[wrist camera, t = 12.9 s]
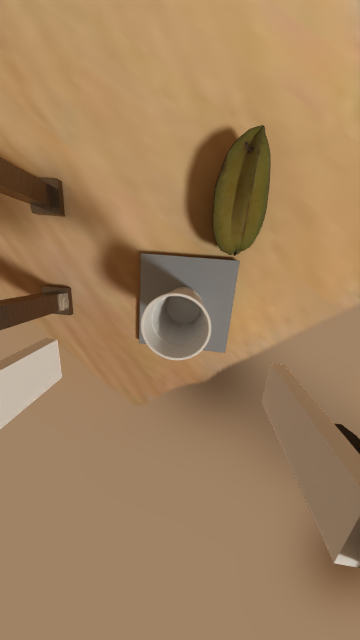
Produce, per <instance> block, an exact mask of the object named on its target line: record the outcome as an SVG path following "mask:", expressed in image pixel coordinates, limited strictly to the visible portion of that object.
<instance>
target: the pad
mask: <svg viewBox="0 0 360 640" xmlns="http://www.w3.org/2000/svg"><path fill="white" fill-rule="evenodd" d="M239 262H240V261H235V260H222V259H209V258H196V257H183V256H170V255H157V254H144V253H141V267H140V325H139V343H142V344H146V342H145V340H144V338H143V335H142V332H141V319H142V315H143V312H144V310H145V309H146V307H147V306H148V305H149V303H150V302H151V301H153V300H154V299H155V298H157V297H159V296H161V295H164V294H167V293H169V292H171V291H173V290H175V289H177V288H180V287H188V288H191V289H193V290H195V291H196V292H197V293H198V294H199V295H200V297H201V299H202V303H203V305H204V307H205V309H206V311H207V313H208V315H209V317H210V321H211V335H210V338H209V341H208V343H207V345H206V346H205V347H204V349H203V350H205V351H214V352H223V353H225V350H226V344H227V338H228V331H229V325H230V319H231V312H232V306H233V300H234V293H235V287H236V281H237V274H238V268H239Z"/></svg>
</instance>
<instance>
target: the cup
mask: <svg viewBox="0 0 360 640" xmlns="http://www.w3.org/2000/svg"><path fill="white" fill-rule="evenodd" d="M141 332H142V335H143V338H144V340H145V342H146V344H147V345H148V346H149V348H150V349H151V350H152V351H154V352H155V353H156V354H158V355H160V356H162V357H164V358H167V359H171V360H184V359H188V358H191V357H193V356H195V355H197V354H198V353H199V352H201V351H202V350H203V349H204V347H205V346H206V345H207V343H208V341H209V338H210V335H211V321H210V317H209V315H208V313H207V311H206V309H205V307H204V305H203V303H202V299H201V297H200V295H199V294H198V293H197V292H196V291H195V290H193V289H191V288H188V287H180V288H177V289H175V290H173V291H171V292H169V293H167V294H164V295H161V296H159V297H157V298H155V299H154V300H153V301H151V302H150V303H149V305H148V306H147V307H146V309H145V310H144V312H143V315H142V319H141Z"/></svg>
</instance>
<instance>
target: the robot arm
mask: <svg viewBox="0 0 360 640" xmlns="http://www.w3.org/2000/svg"><path fill="white" fill-rule="evenodd" d="M61 378H62V373H61V366H60V357H59V349H58V342H57V339H48V338H46V339H43V340H41V341H39V342H37V343H35V344H33V345H31V346H29V347H27V348H25V349H23V350H21V351H19V352H17V353H15V354H13V355H11V356H9V357H7V358H5V359H3V360H1V361H0V429H1V428H2V427H3V426H5V425H6V424H7V423H8V422H9V421H10V420H12V419H13V418H14V417H15V416H16V415H18V414H19V413H20V412H21V411H23V410H24V409H25V408H26V407H27V406H28V405H30V404H31V403H32V402H33V401H34V400H36V399H37V398H38V397H39V396H40V395H41V394H43V393H44V392H45V391H46V390H48V389H49V388H50V387H51V386H52V385H53V384H55V383H56V382H57V381H58V380H59V379H61ZM261 403H262V405H263V407H264V409H265V411H266V414H267V416H268V418H269V420H270V422H271V425H272V427H273V429H274V431H275V434H276V436H277V438H278V440H279V442H280V445H281V447H282V449H283V451H284V454H285V456H286V458H287V460H288V462H289V465H290V467H291V469H292V471H293V474H294V476H295V478H296V480H297V482H298V485H299V487H300V489H301V491H302V494H303V496H304V498H305V500H306V503H307V505H308V507H309V509H310V511H311V514H312V516H313V518H314V520H315V522H316V525H317V527H318V529H319V531H320V534H321V536H322V538H323V540H324V542H325V545H326V547H327V549H328V551H329V554H330V556H331V558H332V560H333V562H334V563H336V564H342V565H347V566H353V567H359V568H360V439H359V438H358V437H357V436H356V435H355V434H353V433H352V432H351V431H349V430H348V429H347V428H345V427H344V426H343V425H341V424H334V423H333V422H332V421H331V420H330V418H329V417H328V416H327V415H326V414H325V412H324V411H323V410H322V409H321V408H320V407H319V406H318V404H317V403H316V402H315V401H314V399H312V397H311V396H310V395H309V394H308V392H307V391H306V390H305V389H304V388H303V386H302V385H301V384H300V383H299V382H298V381H297V379H296V378H295V377H294V376H293V374H292V373H291V372H290V371H289V370H288V369H287V367H286V366H285V365H280V364H271V365H270V370H269V374H268V378H267V382H266V386H265V390H264V394H263V398H262V402H261Z"/></svg>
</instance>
